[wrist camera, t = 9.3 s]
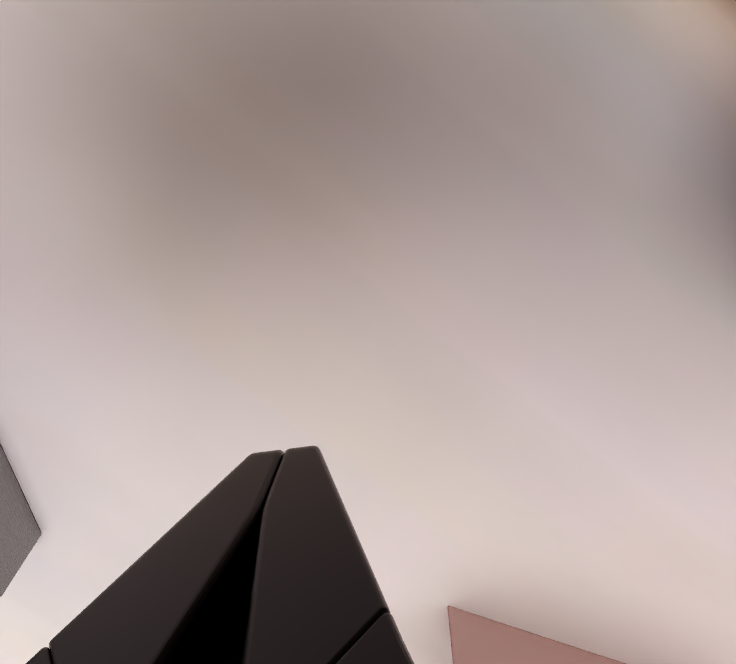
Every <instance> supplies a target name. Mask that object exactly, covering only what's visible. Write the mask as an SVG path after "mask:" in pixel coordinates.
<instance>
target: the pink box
mask: <svg viewBox="0 0 736 664" xmlns="http://www.w3.org/2000/svg"><path fill="white" fill-rule="evenodd" d="M448 615H449V626H450V636H451V646H452V656H453V664H624V663H621V662H618V661H615V660H612V659H609V658H605V657H602V656H599V655H596V654H593V653H590V652H587V651H584V650H581V649H578V648H575V647H572V646H569V645H566V644H563V643H560V642H557V641H554V640H551V639H548V638H545V637H541V636H538V635H535V634H532V633H529V632H526V631H523V630H520V629H517V628H514V627H511V626H508V625H505V624H502V623H499V622H496V621H493V620H490V619H487V618H484V617H480V616H477V615H474V614H471V613H468V612H465V611H462V610H459V609H456V608H453V607H450V606H448Z"/></svg>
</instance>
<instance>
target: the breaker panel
mask: <svg viewBox="0 0 736 664" xmlns="http://www.w3.org/2000/svg"><path fill="white" fill-rule="evenodd" d="M40 536H41V532H40V530H39V528H38V526H37V524H36V521H35V519H34V517H33V515H32V513H31V511H30V508H29V506H28V504H27V502H26V500H25V497H24V495H23V493H22V491H21V489H20V487H19V484H18V482H17V480H16V478H15V476H14V474H13V471H12V469H11V467H10V465H9V463H8V461H7V458H6V456H5V454H4V452H3V450H2V447H1V445H0V596H2V595H3V593H4V592H5V590H6V588H7V587H8V585H9V584H10V582H11V581H12V579H13V578H14V576H15V574H16V573H17V571H18V570H19V568H20V567H21V565H22V564H23V562H24V560H25V559H26V557H27V556H28V554H29V553H30V551H31V550H32V548H33V546H34V545H35V543H36V542H37V540H38V539H39V537H40Z"/></svg>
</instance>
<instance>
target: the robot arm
mask: <svg viewBox="0 0 736 664" xmlns="http://www.w3.org/2000/svg"><path fill="white" fill-rule="evenodd" d="M49 648H50V649H49ZM49 648H48V647H44V648H42V649H41V650H40V651H39V652H38V653H37V654H36V655H35V656H34V657H33V658H31V659H30V660H29V661H28V662H27V663H26V664H414V662H413V660H412V658H411V656H410V654H409V652H408V650H407V648H406V646H405V644H404V642H403V640H402V637H401V635H400V633H399V630H398V628H397V626H396V623H395V621H394V619H393V617H392V615H391V614H390V611H389V608H388V606H387V603H386V601H385V599H384V596H383V594H382V592H381V590H380V587H379V585H378V583H377V580H376V578H375V576H374V573H373V571H372V569H371V567H370V564H369V562H368V560H367V557H366V555H365V553H364V550H363V548H362V546H361V543H360V541H359V539H358V537H357V534H356V532H355V530H354V527H353V525H352V523H351V520H350V518H349V516H348V513H347V511H346V509H345V507H344V504H343V502H342V500H341V497H340V495H339V493H338V490H337V488H336V486H335V484H334V481H333V479H332V477H331V474H330V472H329V470H328V467H327V465H326V463H325V460H324V458H323V456H322V454H321V451H320V449H319V448H318V447H317V446H307V447H300V448H292V449H288V450H286V451H285V453H284V452H283V451H281V450H275V451H267V452H259V453H253V454H251V455H249V456H248V457H247V458H246V459H245V460H244V461H243V462H242V463H240V464H239V465H238V466H237V467H236V468H235V469H234V470H233V471H232V472H231V473H230V474H229V475H228V476H227V477H225V478H224V479H223V480H222V481H221V482H220V483H219V484H218V485H217V486H216V487H215V488H214V489H213V490H212V491H210V492H209V493H208V494H207V495H206V496H205V497H204V498H203V499H202V500H201V501H200V502H199V503H198V504H197V505H196V506H194V507H193V508H192V509H191V510H190V511H189V512H188V513H187V514H186V515H185V516H184V517H183V518H182V519H181V520H179V521H178V522H177V523H176V524H175V525H174V526H173V527H172V528H171V529H170V530H169V531H168V532H167V533H166V534H164V535H163V536H162V537H161V538H160V539H159V540H158V541H157V542H156V543H155V544H154V545H153V546H152V547H151V548H150V549H148V550H147V551H146V552H145V553H144V554H143V555H142V556H141V557H140V558H139V559H138V560H137V561H136V562H135V563H133V564H132V565H131V566H130V567H129V568H128V569H127V570H126V571H125V572H124V573H123V574H122V575H121V576H120V577H118V578H117V579H116V580H115V581H114V582H113V583H112V584H111V585H110V586H109V587H108V588H107V589H106V590H105V591H104V592H102V593H101V594H100V595H99V596H98V597H97V598H96V599H95V600H94V601H93V602H92V603H91V604H90V605H89V606H87V607H86V608H85V609H84V610H83V611H82V612H81V613H80V614H79V615H78V616H77V617H76V618H75V619H74V620H72V621H71V622H70V623H69V624H68V625H67V626H66V627H65V628H64V629H63V630H62V631H61V632H60V633H58V634H57V635H56V636H55V637H54V638H53V639H52V640H51V641H50V643H49Z"/></svg>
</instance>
